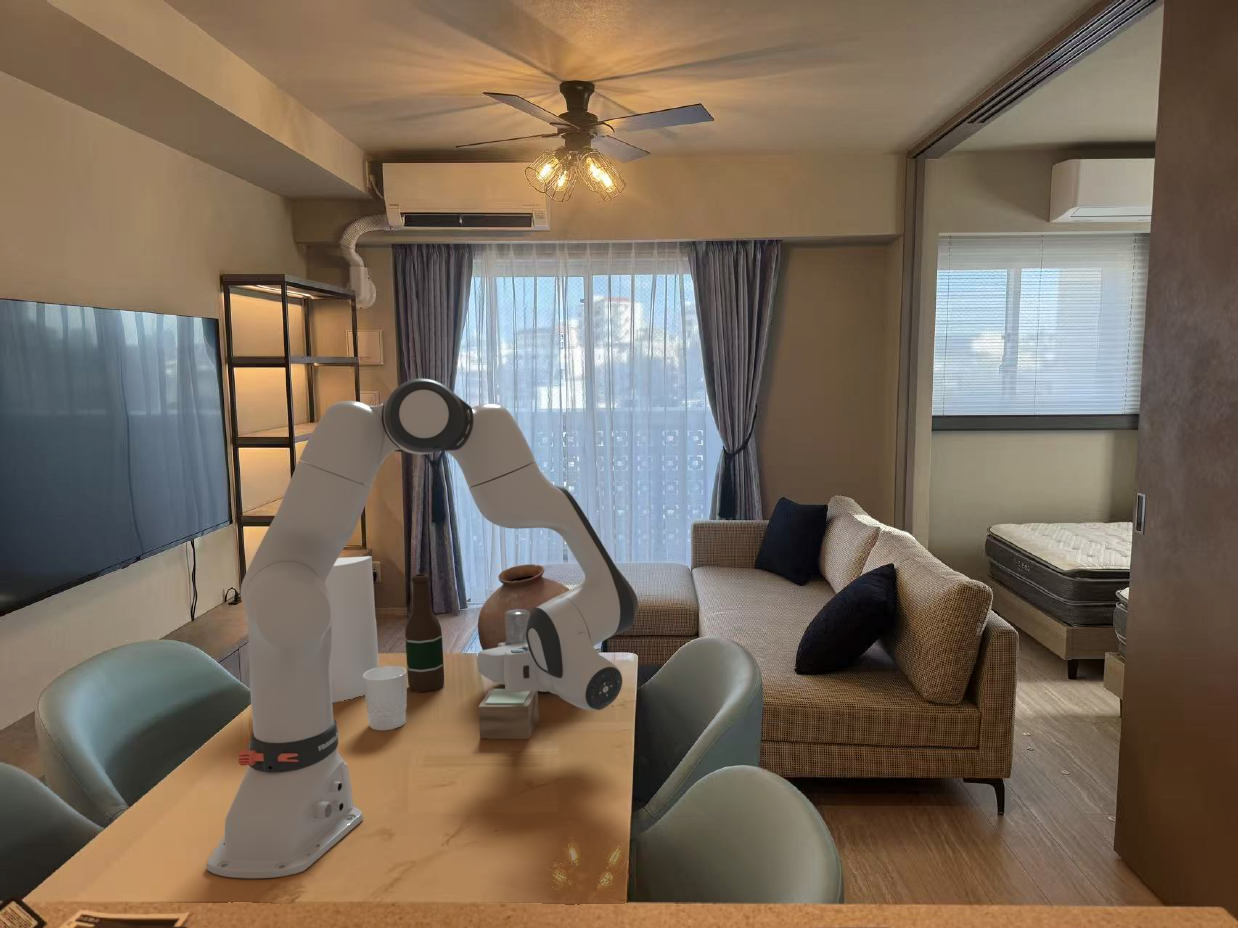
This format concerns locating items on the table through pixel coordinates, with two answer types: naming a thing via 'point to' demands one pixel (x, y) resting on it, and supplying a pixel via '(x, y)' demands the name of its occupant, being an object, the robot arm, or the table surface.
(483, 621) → the pottery
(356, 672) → the cylinder
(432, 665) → the beer bottle
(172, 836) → the table surface
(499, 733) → the stand block
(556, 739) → the table surface
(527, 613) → the grey cylindrical bottle
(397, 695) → the white cup
